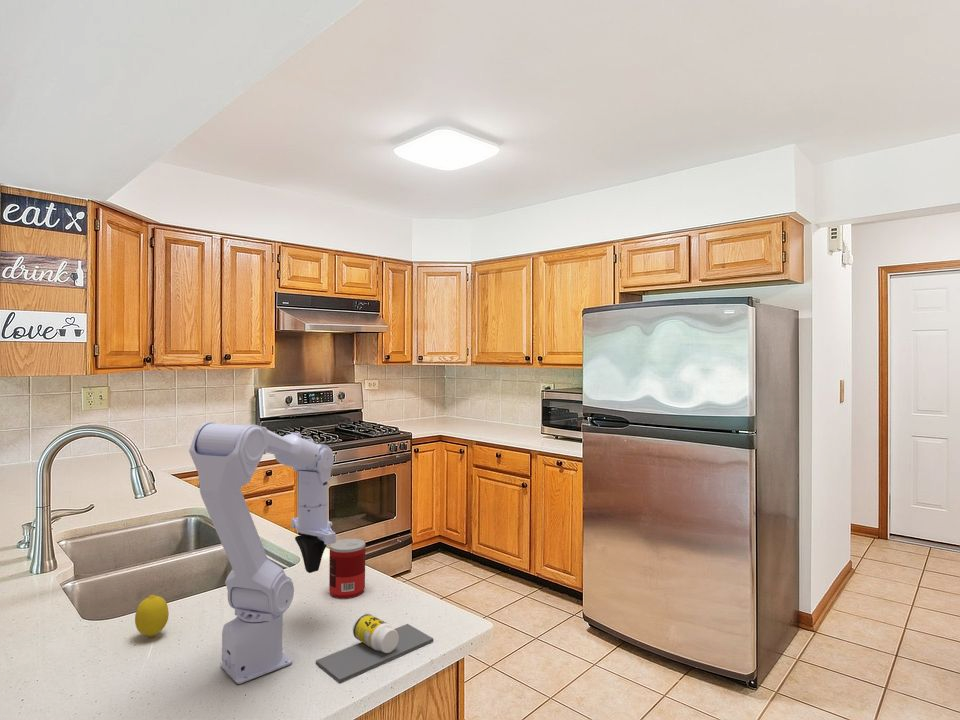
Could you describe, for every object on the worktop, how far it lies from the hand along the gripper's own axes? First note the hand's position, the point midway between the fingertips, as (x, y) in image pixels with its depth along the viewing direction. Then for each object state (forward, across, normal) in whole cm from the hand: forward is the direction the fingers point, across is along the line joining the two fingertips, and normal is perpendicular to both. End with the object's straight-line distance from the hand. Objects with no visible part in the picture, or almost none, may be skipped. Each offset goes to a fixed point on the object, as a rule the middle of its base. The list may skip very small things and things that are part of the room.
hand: (312, 570), depth 116 cm
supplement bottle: (+8, -13, -3) cm, 15 cm away
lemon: (+11, +15, +25) cm, 31 cm away
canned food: (+11, +8, -13) cm, 19 cm away
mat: (+10, -18, -3) cm, 21 cm away
